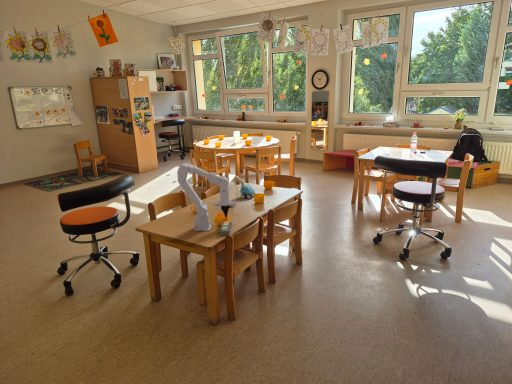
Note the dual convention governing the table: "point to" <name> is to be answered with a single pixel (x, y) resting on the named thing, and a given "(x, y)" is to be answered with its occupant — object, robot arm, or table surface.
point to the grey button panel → (226, 231)
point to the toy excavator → (245, 189)
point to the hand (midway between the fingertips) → (226, 216)
